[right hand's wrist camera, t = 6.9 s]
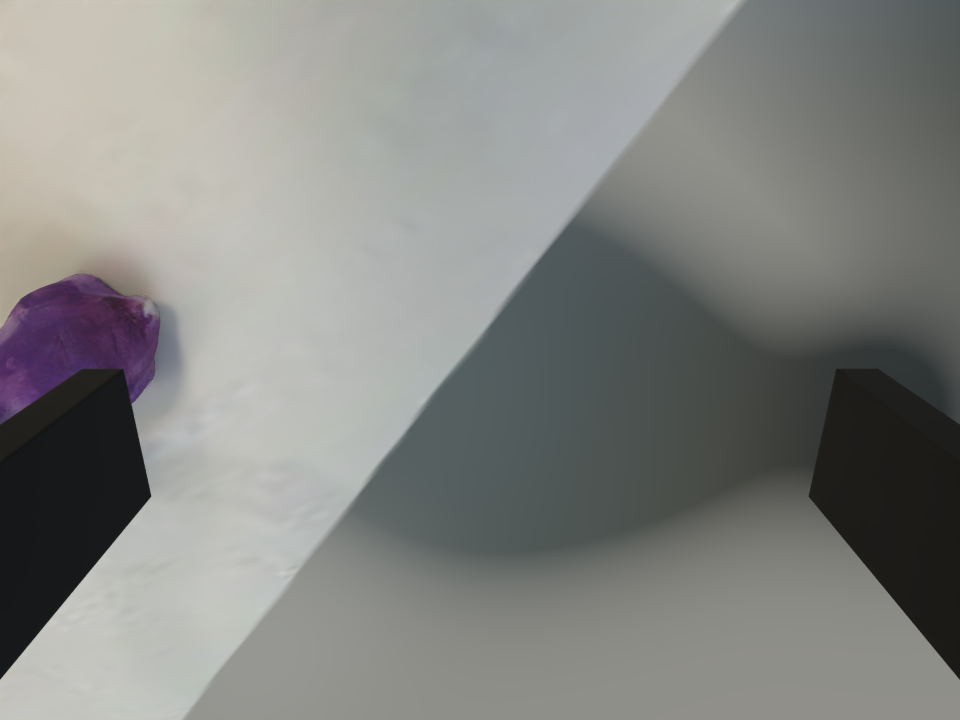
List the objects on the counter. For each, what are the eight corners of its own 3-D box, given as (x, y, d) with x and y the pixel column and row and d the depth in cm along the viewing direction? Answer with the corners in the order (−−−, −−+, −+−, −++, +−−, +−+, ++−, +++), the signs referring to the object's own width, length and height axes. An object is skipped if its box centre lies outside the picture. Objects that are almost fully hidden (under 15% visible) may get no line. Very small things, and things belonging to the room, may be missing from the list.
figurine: (18, 404, 43) (-204, 552, 29) (14, 253, 39) (-242, 339, 25) (165, 434, 44) (17, 591, 30) (174, 288, 40) (11, 391, 26)
